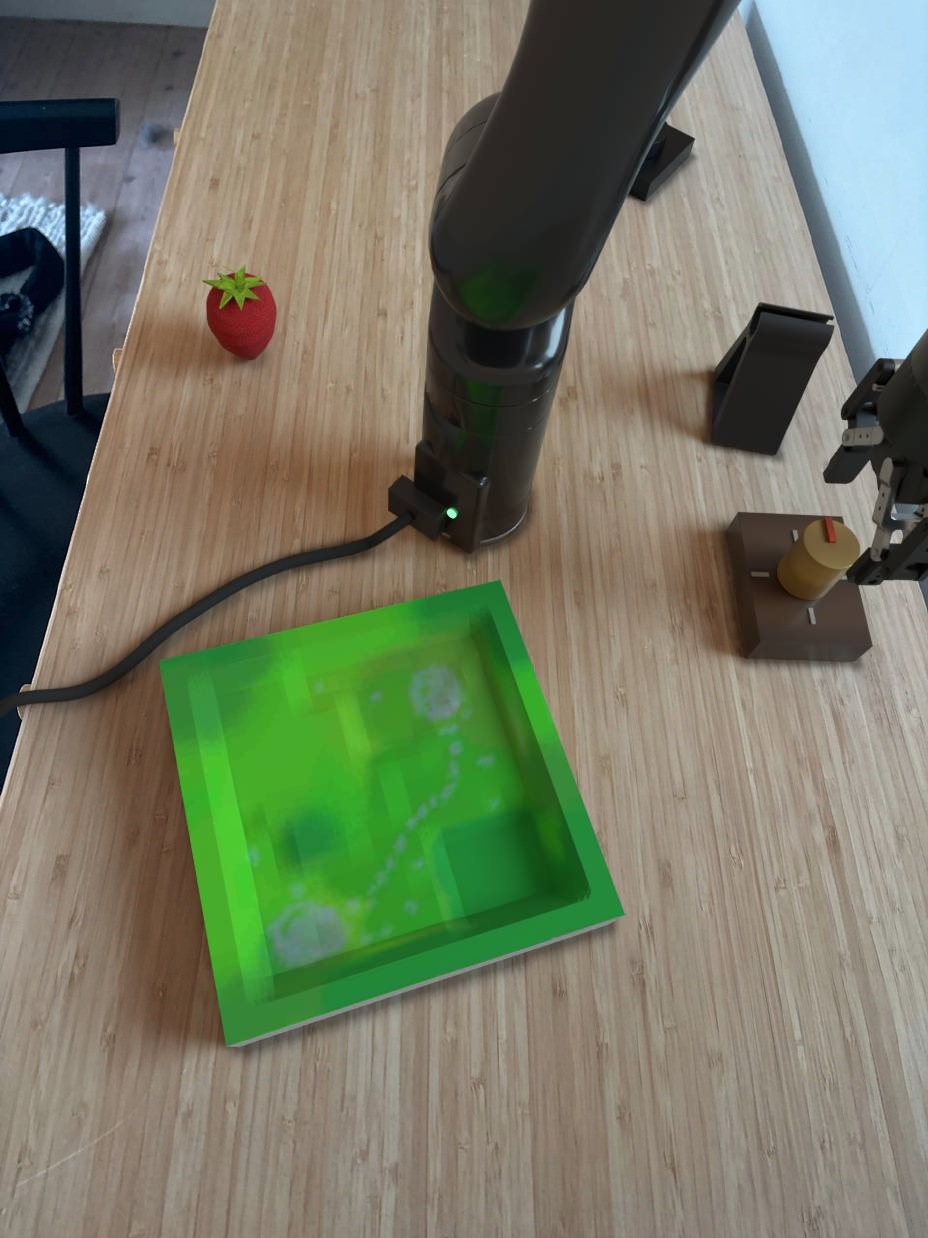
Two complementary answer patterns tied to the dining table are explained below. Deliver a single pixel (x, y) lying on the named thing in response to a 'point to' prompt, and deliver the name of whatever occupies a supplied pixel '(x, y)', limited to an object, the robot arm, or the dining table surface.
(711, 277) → the dining table surface
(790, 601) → the lock plate
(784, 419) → the phone stand
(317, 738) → the tray
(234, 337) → the strawberry
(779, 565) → the lock knob
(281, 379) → the dining table surface
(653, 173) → the button block
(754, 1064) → the dining table surface
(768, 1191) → the dining table surface
